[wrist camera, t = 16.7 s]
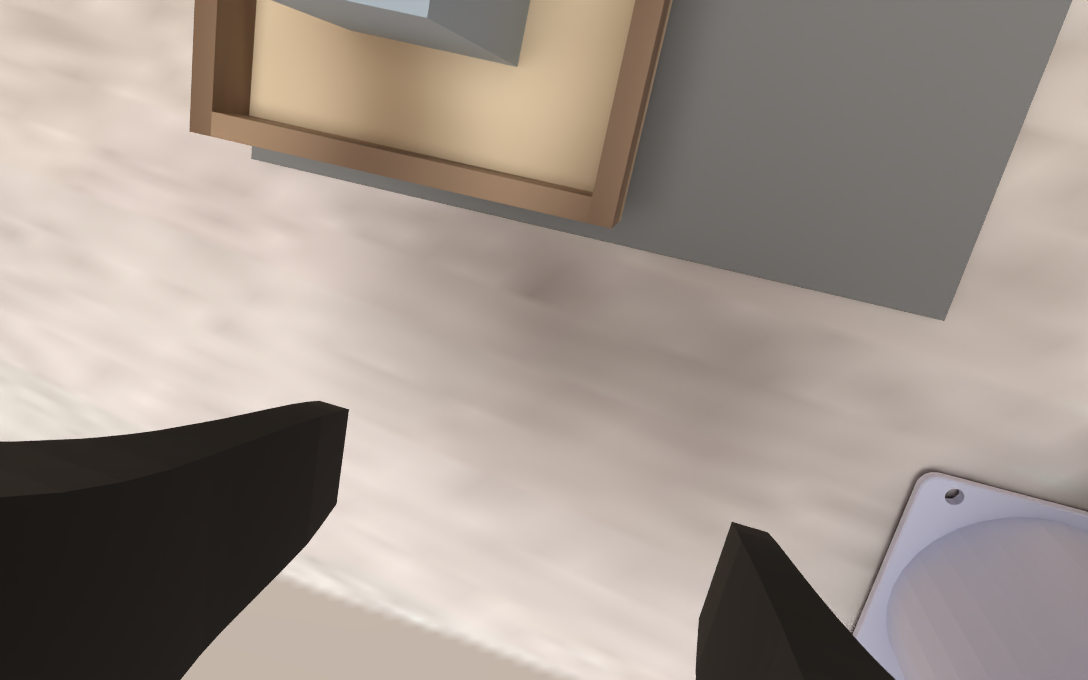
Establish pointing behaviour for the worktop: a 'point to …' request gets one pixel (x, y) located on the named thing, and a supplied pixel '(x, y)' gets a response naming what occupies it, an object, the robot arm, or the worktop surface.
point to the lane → (818, 141)
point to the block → (432, 23)
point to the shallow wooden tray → (441, 100)
